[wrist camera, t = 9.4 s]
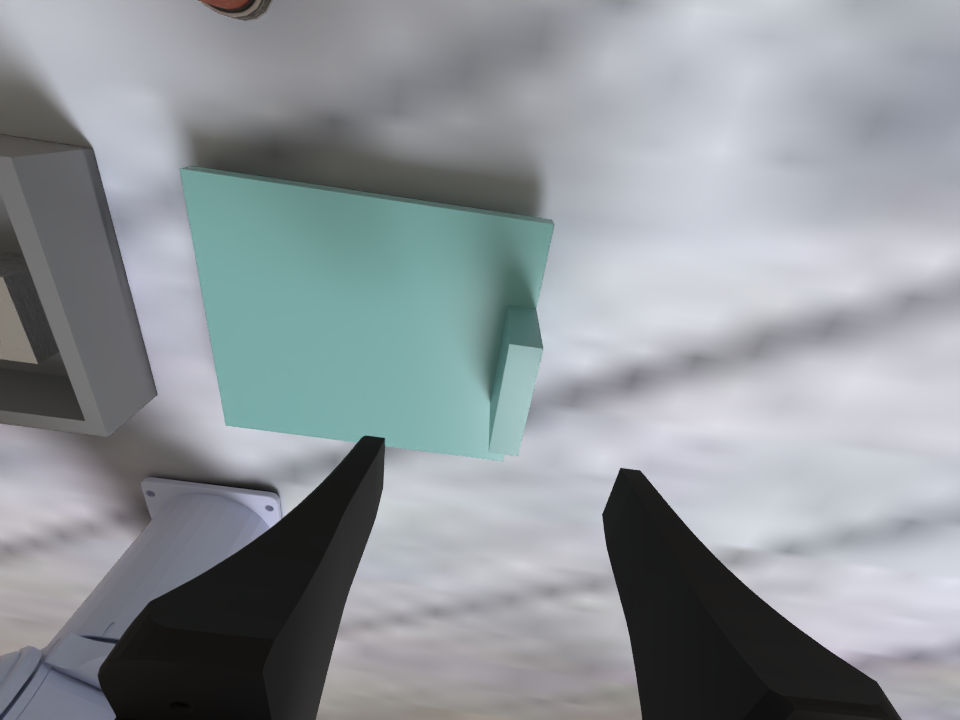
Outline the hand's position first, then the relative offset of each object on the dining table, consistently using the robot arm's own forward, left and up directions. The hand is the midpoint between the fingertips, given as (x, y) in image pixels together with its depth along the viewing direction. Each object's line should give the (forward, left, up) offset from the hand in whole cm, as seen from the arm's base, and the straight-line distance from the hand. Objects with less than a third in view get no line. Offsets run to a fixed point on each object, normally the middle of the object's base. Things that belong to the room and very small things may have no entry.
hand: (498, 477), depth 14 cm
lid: (0, +6, -8) cm, 10 cm away
